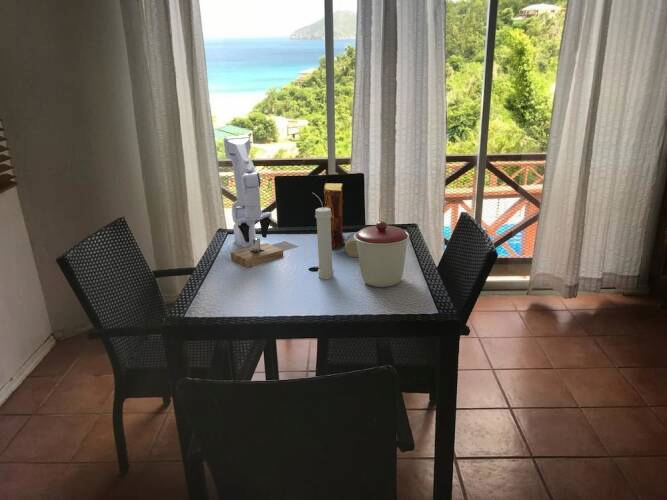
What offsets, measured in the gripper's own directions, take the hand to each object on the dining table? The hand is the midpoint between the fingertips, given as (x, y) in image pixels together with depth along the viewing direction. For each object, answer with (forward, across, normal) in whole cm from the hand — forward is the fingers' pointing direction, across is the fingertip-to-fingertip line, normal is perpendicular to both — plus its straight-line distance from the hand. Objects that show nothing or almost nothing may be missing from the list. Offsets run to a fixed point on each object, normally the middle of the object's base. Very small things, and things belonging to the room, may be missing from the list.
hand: (255, 239), depth 211 cm
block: (+8, 0, 0) cm, 8 cm away
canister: (+8, +18, -50) cm, 54 cm away
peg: (+8, 0, 0) cm, 8 cm away
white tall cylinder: (+8, +7, -33) cm, 35 cm away
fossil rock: (+8, +33, -7) cm, 35 cm away
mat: (+8, +14, +4) cm, 16 cm away
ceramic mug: (+8, +30, -24) cm, 40 cm away
